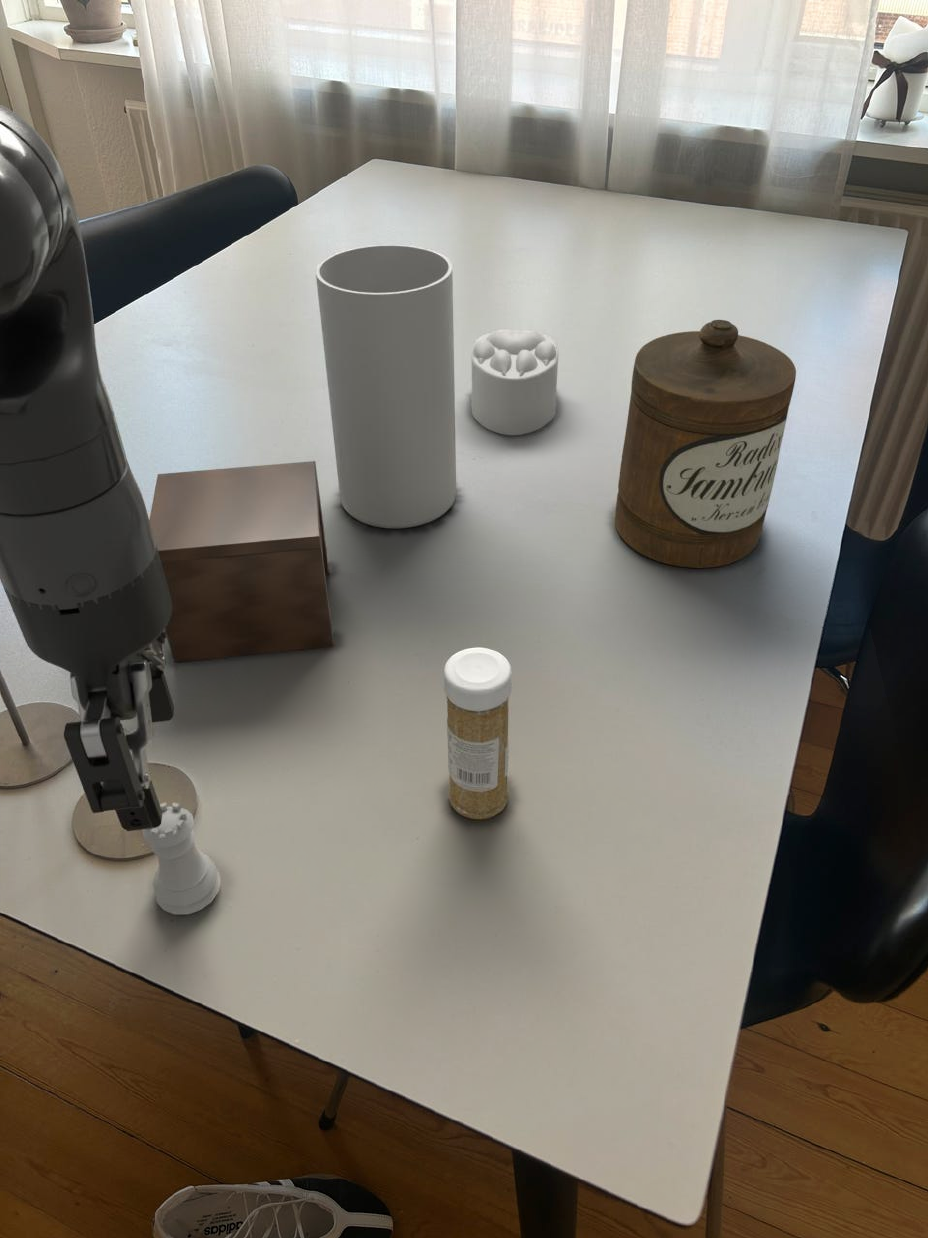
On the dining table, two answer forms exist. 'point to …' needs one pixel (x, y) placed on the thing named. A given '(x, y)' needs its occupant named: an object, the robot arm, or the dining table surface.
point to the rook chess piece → (181, 864)
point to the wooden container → (702, 445)
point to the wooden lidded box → (243, 560)
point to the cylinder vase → (391, 381)
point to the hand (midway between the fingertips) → (151, 768)
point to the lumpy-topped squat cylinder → (514, 381)
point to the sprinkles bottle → (478, 731)
